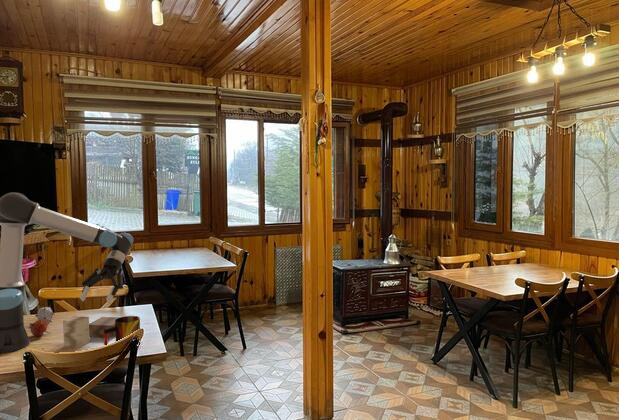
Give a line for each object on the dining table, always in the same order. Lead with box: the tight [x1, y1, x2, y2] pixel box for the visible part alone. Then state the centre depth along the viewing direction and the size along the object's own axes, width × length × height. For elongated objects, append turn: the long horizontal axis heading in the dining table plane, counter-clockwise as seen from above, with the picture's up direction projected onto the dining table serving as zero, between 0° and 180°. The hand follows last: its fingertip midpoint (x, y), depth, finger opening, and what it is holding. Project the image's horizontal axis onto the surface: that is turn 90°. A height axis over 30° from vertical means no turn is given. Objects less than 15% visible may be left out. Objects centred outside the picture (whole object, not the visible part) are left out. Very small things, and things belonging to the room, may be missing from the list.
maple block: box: [62, 315, 91, 348], centre depth 198 cm, size 7×7×11 cm
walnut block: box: [89, 316, 121, 339], centre depth 211 cm, size 12×12×6 cm
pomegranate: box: [29, 319, 51, 338], centre depth 209 cm, size 7×7×10 cm
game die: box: [34, 305, 55, 323], centre depth 228 cm, size 9×8×10 cm
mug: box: [103, 315, 141, 346], centre depth 191 cm, size 10×14×12 cm
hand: (94, 300), depth 208 cm, fingers open, 13 cm apart
